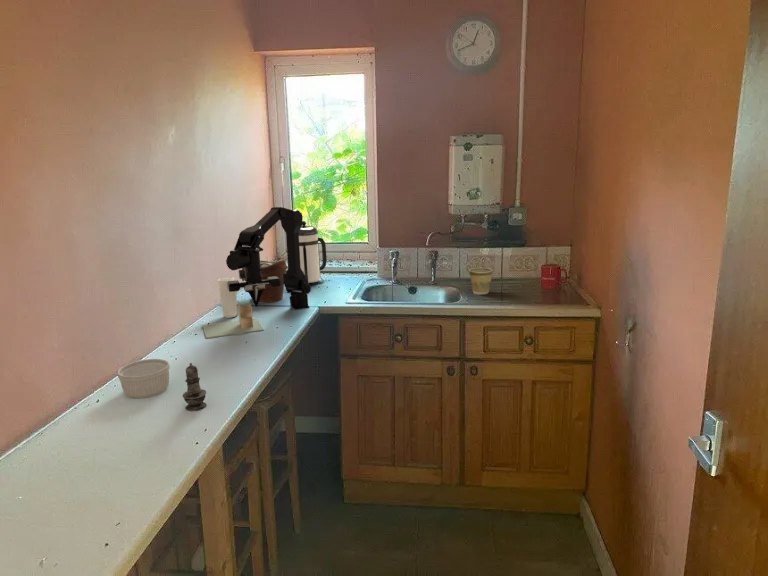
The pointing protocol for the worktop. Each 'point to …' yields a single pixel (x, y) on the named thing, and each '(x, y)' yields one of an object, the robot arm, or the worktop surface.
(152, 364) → the ramekin
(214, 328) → the rubber mat
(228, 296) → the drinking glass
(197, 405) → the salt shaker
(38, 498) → the worktop surface
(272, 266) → the brown round container
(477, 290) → the ceramic cup
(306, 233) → the coffee press
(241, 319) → the beech block
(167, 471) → the worktop surface
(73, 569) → the worktop surface
